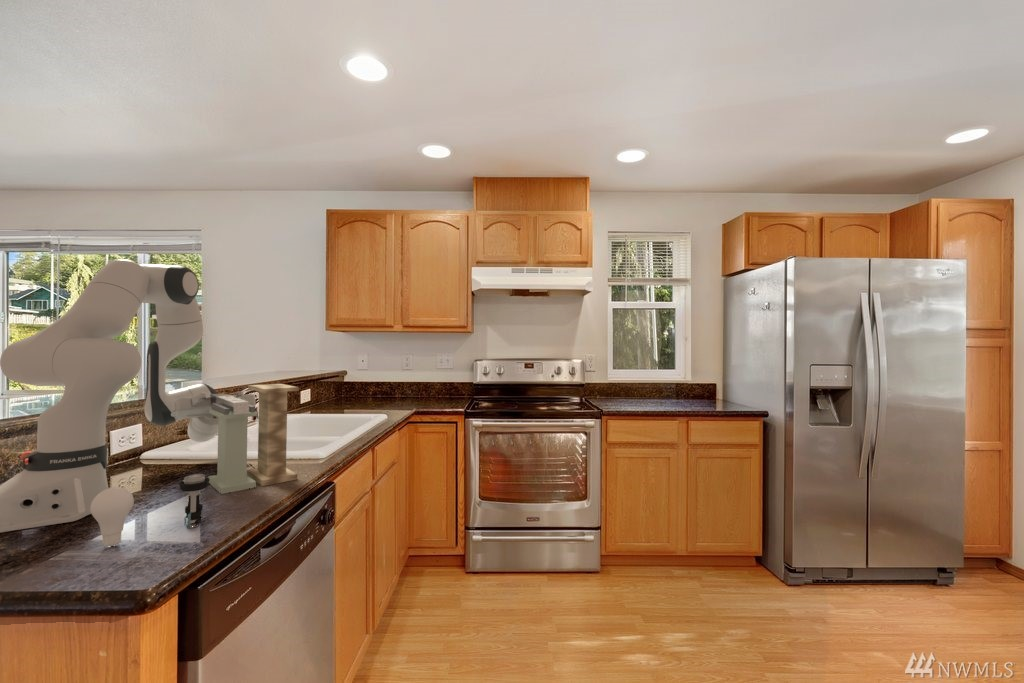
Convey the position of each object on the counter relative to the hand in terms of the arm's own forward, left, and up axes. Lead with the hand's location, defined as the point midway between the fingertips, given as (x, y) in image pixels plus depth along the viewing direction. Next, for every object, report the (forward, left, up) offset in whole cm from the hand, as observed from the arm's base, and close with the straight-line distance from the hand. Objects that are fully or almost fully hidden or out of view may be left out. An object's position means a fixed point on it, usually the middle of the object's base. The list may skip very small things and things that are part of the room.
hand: (222, 394), depth 130 cm
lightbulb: (-26, -39, -24) cm, 52 cm away
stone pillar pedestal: (+10, -12, -23) cm, 28 cm away
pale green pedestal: (0, -12, -23) cm, 26 cm away
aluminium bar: (0, -8, -3) cm, 9 cm away
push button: (-13, -37, -24) cm, 46 cm away
